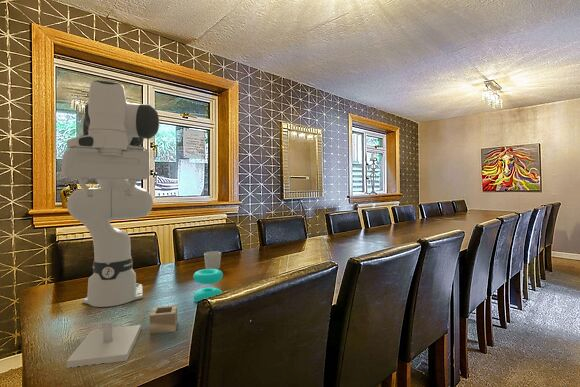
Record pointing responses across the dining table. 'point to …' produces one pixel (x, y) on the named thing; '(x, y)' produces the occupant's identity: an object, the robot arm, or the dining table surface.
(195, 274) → the donuts
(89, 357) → the post board
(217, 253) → the cup
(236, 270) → the dining table surface
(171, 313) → the collar
